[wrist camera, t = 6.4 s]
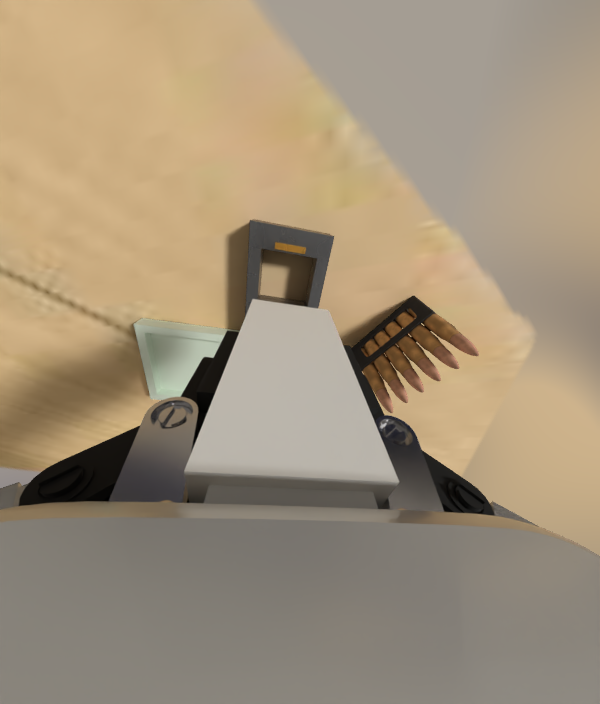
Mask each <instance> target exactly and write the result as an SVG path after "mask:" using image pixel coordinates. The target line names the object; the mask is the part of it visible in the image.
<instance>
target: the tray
mask: <svg viewBox="0 0 600 704" xmlns="http://www.w3.org/2000/svg"><path fill="white" fill-rule="evenodd" d="M134 328H135V332H136V337H137V341H138V346H139V350H140V354H141V359H142V363H143V368H144V372H145V376H146V381H147V385H148V390H149V394H150V398H151V399H157V400H164V399H167V398H172V397H181V395H182V393H183V391H184V390H185V388H186V386H187V384H188V383H189V381H190V379H191V377H192V376H193V374H194V372H195V371H196V369H197V367H198V365H199V364H200V362H201V360H202V359H203V357H211V358H214V356H215V354H216V352H217V350H218V348H219V346H220V344H221V342H222V340H223V338H224V336H225V334H226V332H227V330H228V331H236V332H240V331H239V330H231V329H223V328H216V327H208V326H200V325H192V324H185V323H177V322H169V321H161V320H154V319H146V318H141V319H140V320H138V321H137V322H136V323H134Z"/></svg>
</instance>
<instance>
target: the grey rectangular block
mask: <svg viewBox="0 0 600 704" xmlns="http://www.w3.org/2000/svg"><path fill="white" fill-rule="evenodd" d="M184 474H185V480H186V486H187V492H188V498H189V503H206V504H242V505H274V506H305V507H335V508H363V509H380V508H381V507H382V505H383V504H384V503H385V501H386V500H387V498H388V497H389V496H390V494H391V493H392V492H393V490H394V489H395V487H396V486H397V485H398V483H399V480H398V477H397V475H396V473H395V470H394V468H393V465H392V463H391V460H390V458H389V456H388V453H387V451H386V448H385V446H384V443H383V441H382V439H381V436H380V434H379V431H378V429H377V426H376V424H375V422H374V419H373V417H372V414H371V412H370V409H369V407H368V405H367V402H366V400H365V397H364V395H363V392H362V390H361V388H360V385H359V383H358V380H357V378H356V375H355V373H354V371H353V368H352V366H351V363H350V361H349V358H348V356H347V354H346V351H345V349H344V346H343V344H342V341H341V339H340V337H339V334H338V332H337V329H336V327H335V324H334V322H333V320H332V317H331V315H330V312H329V310H324V309H317V308H310V307H304V306H297V305H290V304H283V303H277V302H270V301H263V300H257V299H252V302H251V304H250V307H249V309H248V312H247V314H246V317H245V319H244V322H243V324H242V327H241V329H240V332H239V334H238V337H237V340H236V342H235V345H234V347H233V350H232V352H231V355H230V357H229V360H228V362H227V365H226V367H225V370H224V372H223V375H222V377H221V380H220V382H219V385H218V387H217V390H216V392H215V395H214V397H213V400H212V402H211V405H210V407H209V410H208V412H207V415H206V417H205V420H204V422H203V425H202V427H201V430H200V433H199V435H198V438H197V440H196V443H195V445H194V448H193V450H192V453H191V455H190V458H189V460H188V463H187V465H186V468H185V470H184Z"/></svg>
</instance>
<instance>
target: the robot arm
mask: <svg viewBox="0 0 600 704" xmlns="http://www.w3.org/2000/svg"><path fill="white" fill-rule="evenodd" d="M238 334H239V332H236V331H228V330H227V332H226V334H225V336H224V338H223V340H222V342H221V344H220V346H219V348H218V350H217V352H216V354H215V356H214V358H211V357H203V359H202V360H201V362H200V364H199V365H198V367H197V369H196V371H195V372H194V374H193V376H192V377H191V379H190V381H189V383H188V384H187V386H186V388H185V390H184V391H183V393H182V395H181V397H172V398H167V399H164V400H161V401H159V402H158V403H156V404H154V405H153V406H152V407H151V408H149V409H148V411H147V413H146V414H145V416H144V418H143V421H142V423H141V425H140V426H138V427H136V428H134V429H131V430H129V431H127V432H125V433H122V434H120V435H118V436H116V437H114V438H111V439H109V440H107V441H105V442H102V443H100V444H98V445H96V446H93V447H91V448H89V449H87V450H84V451H82V452H80V453H78V454H75V455H73V456H71V457H69V458H66V459H64V460H62V461H60V462H58V463H56V464H54V465H52V466H50V467H48V468H47V469H45V470H44V471H42V472H41V473H40V474H39V475H37V476H36V477H35V478H34V479H33V480H32V481H31V482H30V483H29V484H26V485H23V486H22V485H21V484H20V483H19V482H18V483H15V484H12V485H9V486H6V487H3V488H0V704H600V556H599V555H597V554H595V553H594V552H592V551H590V550H589V549H587V548H585V547H583V546H581V545H579V544H578V543H576V542H574V541H572V540H569V539H567V538H564V537H562V536H560V535H558V534H555V533H553V532H551V531H548V530H546V529H544V528H541V527H539V526H537V525H535V524H533V523H531V522H529V521H528V520H526V519H524V518H522V517H520V516H518V515H517V514H515V513H513V512H511V511H509V510H507V509H506V508H504V507H502V506H500V505H498V504H496V503H494V502H491V503H489V502H488V500H487V499H486V497H485V496H484V495H483V494H482V493H481V492H480V491H479V490H478V489H477V488H476V487H475V486H473V485H472V484H471V483H469V482H468V481H466V480H465V479H463V478H462V477H460V476H459V475H458V474H456V473H455V472H453V471H452V470H450V469H449V468H447V467H446V466H444V465H443V464H441V463H440V462H438V461H437V460H435V459H434V458H432V457H431V456H430V455H428V454H427V453H425V452H424V451H422V450H421V447H420V444H419V442H418V439H417V436H416V434H415V432H414V431H413V430H412V428H411V427H410V426H409V425H408V424H406V423H405V422H404V421H402V420H400V419H398V418H396V417H393V416H387V415H385V416H384V413H383V411H382V409H381V407H380V405H379V403H378V401H377V399H376V396H375V394H374V392H373V390H372V388H371V386H370V384H369V382H368V379H367V377H366V376H365V375H363V373H362V371H361V369H360V367H359V365H358V362H357V360H356V358H355V356H354V354H353V351H352V349H351V347H350V346H344V345H343V346H344V349H345V351H346V354H347V356H348V358H349V361H350V363H351V366H352V368H353V371H354V373H355V375H356V378H357V380H358V383H359V385H360V388H361V390H362V392H363V395H364V397H365V400H366V402H367V405H368V407H369V409H370V412H371V414H372V417H373V419H374V422H375V424H376V426H377V429H378V431H379V434H380V436H381V439H382V441H383V443H384V446H385V448H386V451H387V453H388V456H389V458H390V460H391V463H392V465H393V468H394V470H395V473H396V475H397V477H398V480H399V483H398V485H397V486H396V487H395V489H394V490H393V492H392V493H391V494H390V496H389V497H388V498H387V500H386V501H385V503H384V504H383V505H382V507H381V508H380V509H363V508H335V507H305V506H274V505H242V504H206V503H189V498H188V492H187V486H186V480H185V474H184V470H185V468H186V465H187V463H188V460H189V458H190V455H191V453H192V450H193V448H194V445H195V443H196V440H197V438H198V435H199V433H200V430H201V427H202V425H203V422H204V420H205V417H206V415H207V412H208V410H209V407H210V405H211V402H212V400H213V397H214V395H215V392H216V390H217V387H218V385H219V382H220V380H221V377H222V375H223V372H224V370H225V367H226V365H227V362H228V360H229V357H230V355H231V352H232V350H233V347H234V345H235V342H236V340H237V337H238Z"/></svg>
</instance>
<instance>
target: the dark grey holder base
mask: <svg viewBox="0 0 600 704" xmlns="http://www.w3.org/2000/svg"><path fill="white" fill-rule="evenodd" d="M333 239H334V236H332V235H330V234H327V233H322V232H316V231H311V230H306V229H301V228H296V227H291V226H285V225H280V224H275V223H270V222H265V221H260V220H250V231H249V251H248V271H247V291H246V311H245V317H246V314H247V312H248V309H249V307H250V304H251V302H252V299H257V300H263V301H270V302H277V303H283V304H290V305H297V306H304V307H310V308H317V309H318V306H319V302H320V298H321V293H322V289H323V284H324V280H325V275H326V271H327V266H328V262H329V257H330V253H331V248H332V244H333ZM263 249H267V250H273V251H278V252H284V253H289V254H295V255H301V256H306V257H312V258H313V263H312V268H311V273H310V279H309V284H308V289H307V294H306V300H305V302H304V301H298V300H291V299H284V298H278V297H271V296H264V295H260V286H261V274H262V262H263Z"/></svg>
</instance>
